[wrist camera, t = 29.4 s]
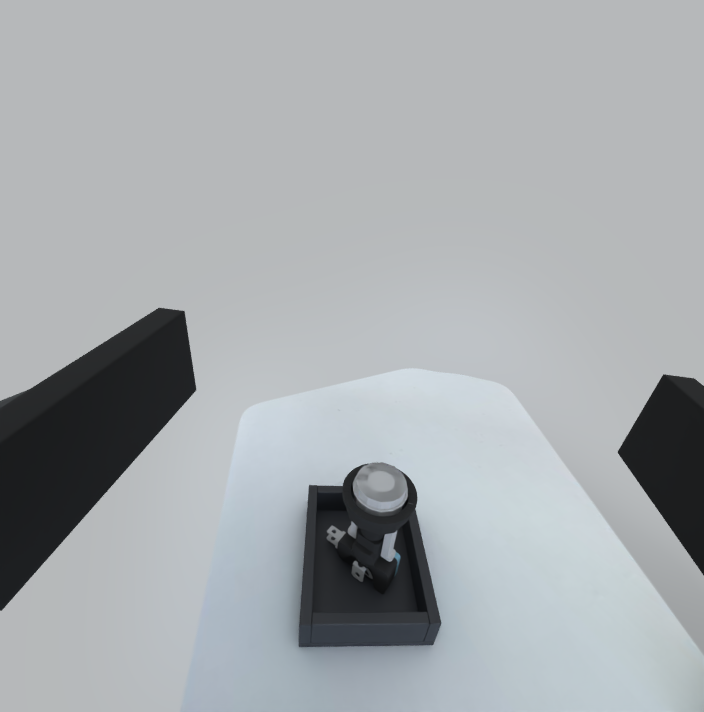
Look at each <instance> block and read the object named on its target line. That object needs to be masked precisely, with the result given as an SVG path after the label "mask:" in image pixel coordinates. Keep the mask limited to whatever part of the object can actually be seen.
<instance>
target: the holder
mask: <svg viewBox="0 0 704 712" xmlns="http://www.w3.org/2000/svg"><path fill="white" fill-rule="evenodd" d="M342 489H343V486H317V485H309V494H308V508H307V523H306V537H305V552H304V566H303V580H302V595H301V609H300V623H299V647H321V646H391V645H433V644H434V641H435V639H436V636H437V633H438V631H439V628H440V626H441V620H440V616H439V611H438V607H437V603H436V598H435V594H434V589H433V585H432V581H431V576H430V572H429V567H428V563H427V559H426V554H425V550H424V545H423V541H422V537H421V532H420V528H419V523H418V519H417V515H416V510H414V513H413V514H412V516H411V517H410V518H409V520H408V521H407V522H406V523H405V524H404V525H403V526H402V527H400V528H399V529H398V530H397V534H396V539H395V543H394V548H393V549H394V550H395V551H396V552H397V553H398V554H399V555H400V562H399V566H398V571H397V573H396V575H395V577H394V578H393V580H392V582H391V583H390V585H389V587H388V588H387V590H386V592H385V593H384V594H381V593H379V592H378V591H377V590H376V589H375V588H374V586H373V582H372V581H371V580H369V579H368V578H367V577H365V576H364V579H363V582H360V581H359V580H358V579H356V578H355V577H354V576H353V575H352V574H351V573H352V566H350V565H349V564H348V563H346V562H345V561H343V560H342V559H341V558H340V557H339V554H338V553H337V548H335V545H334V544H333V543H331V542H330V541H328V540H327V536H328V535H329V534H328V533H327V530H328V529H329V528H330V527H331V526H334V527H336V528H337V529H338V530H340V531H341V532H343V531H344V532H347V530H348V528H349V527H350V526H351V522H352V521H351V520H350V519H349V516H348V512H347V509H346V506H345V504H344V501H343V497H342ZM351 495H352V498H353V500H354V492H353V493H352V494H351ZM404 508H405V503H404V504H403V506H402V510H403V509H404ZM332 532H333V533H334V534H335V533H336V531H335V530H332ZM335 539H336V538H334V537H331V540H335ZM355 573H356V575H357V576H359V577H360V575H359V574H358V573H357V572H355Z"/></svg>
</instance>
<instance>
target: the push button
mask: <svg viewBox="0 0 704 712" xmlns="http://www.w3.org/2000/svg"><path fill="white" fill-rule="evenodd" d="M353 492H354V500H353V498H352V495H351V494H352V493H353ZM342 497H343V501H344V504H345V506H346V509H347V512H348V516H349V519H350V520H351V521H352V522H351V526H350V527H349V528H348V530H347V532H344V531H343V532H341V531H340V530H338V529H337V528H336V527H334V526H331V527H330V528H329V529H328V530H327V533H328V534H329V535H328V536H327V540H328V541H330V542H331V543H333V544H334V545H335V548H337V553H338V554H339V557H340V558H341V559H342V560H343V561H345V562H346V563H348V564H349V565H350V566H352V573H351V574H352V575H353V576H354V577H355V578H356V579H358V580H359V581H360V582H363V579H364V576H365V577H367V578H368V579H369V580H371V581H372V582H373V586H374V588H375V589H376V590H377V591H378V592H379V593H381V594H384V593H385V592H386V590H387V588H388V587H389V585H390V583H391V582H392V580H393V578H394V577H395V575H396V573H397V571H398V566H399V562H400V555H399V554H398V553H397V552H396V551H395V550H394V549H393V548H394V543H395V539H396V534H397V530H398V529H399V528H400V527H402V526H403V525H404V524H405V523H406V522H407V521H408V520H409V518H410V517H411V516H412V514H413V513H414V510H415V508H416V504H417V492H416V489H415V486H414V484H413V483H412V481H411V480H410V479H409V477H408V476H407V475H405V474H404V473H403V472H402V471H400V470H398V469H397V468H395V467H394V466H392V465H389V464H386V463H382V462H381V463H370V464H365V465H361V466H359V467H357V468H355V469H353V470H352V471H351V472H350V473H349V474H348V475H347V477H346V478H345V480H344V483H343V489H342ZM404 503H405V508H404V509H403V510H402V506H403V504H404ZM332 530H335V531H336V533H335V534H334V533H333V532H332ZM331 537H334V538H336V539H335V540H331ZM355 572H357V573H358V574H359V575H360V577H359V576H357V575H356V573H355Z"/></svg>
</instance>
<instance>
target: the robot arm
mask: <svg viewBox="0 0 704 712" xmlns="http://www.w3.org/2000/svg"><path fill="white" fill-rule="evenodd" d="M195 391H196V385H195V378H194V372H193V365H192V359H191V352H190V345H189V339H188V332H187V325H186V318H185V312H184V311H179V310H172V309H164V308H158V309H156V310H155V311H153V312H152V313H150V314H148V315H147V316H145V317H144V318H142V319H141V320H139V321H137V322H136V323H134V324H133V325H131V326H130V327H128V328H127V329H125V330H123V331H121V332H120V333H118V334H117V335H115V336H114V337H112V338H110V339H109V340H107V341H106V342H104V343H103V344H101V345H99V346H98V347H96V348H94V349H93V350H91V351H90V352H88V353H87V354H85V355H83V356H82V357H80V358H79V359H77V360H75V361H74V362H72V363H71V364H69V365H68V366H66V367H65V368H63V369H61V370H60V371H58V372H56V373H55V374H53V375H52V376H50V377H48V378H47V379H45V380H44V381H42V382H41V383H39V384H37V385H36V386H34V387H33V388H31V389H29V390H27V391H25V392H22V393H19V394H17V395H14V396H12V397H9V398H7V399H4V400H2V401H0V610H2V609H3V608H4V607H5V606H6V605H7V604H8V603H9V602H10V600H11V599H12V598H13V597H14V596H15V595H16V594H17V592H18V591H19V590H20V589H21V588H22V587H23V586H24V585H25V583H26V582H27V581H28V580H29V579H30V578H31V577H32V575H33V574H34V573H35V572H36V571H37V570H38V569H39V568H40V566H41V565H42V564H43V563H44V562H45V561H46V560H47V559H48V557H49V556H50V555H51V554H52V553H53V552H54V551H55V549H56V548H57V547H58V546H59V545H60V544H61V543H62V542H63V540H64V539H65V538H66V537H67V536H68V535H69V534H70V532H71V531H72V530H73V529H74V528H75V527H76V526H77V525H78V523H79V522H80V521H81V520H82V519H83V518H84V517H85V515H86V514H87V513H88V512H89V511H90V510H91V509H92V507H93V506H94V505H95V504H96V503H97V502H98V501H99V500H100V498H101V497H102V496H103V495H104V494H105V493H106V492H107V490H108V489H109V488H110V487H111V486H112V485H113V484H114V483H115V481H116V480H117V479H118V478H119V477H120V476H121V475H122V474H123V472H124V471H125V470H126V469H127V468H128V467H129V466H130V465H131V463H132V462H133V461H134V460H135V459H136V458H137V457H138V455H139V454H140V453H141V452H142V451H143V450H144V449H145V447H146V446H147V445H148V444H149V443H150V442H151V441H152V440H153V438H154V437H155V436H156V435H157V434H158V433H159V432H160V431H161V429H162V428H163V427H164V426H165V425H166V424H167V423H168V421H169V420H170V419H171V418H172V417H173V416H174V415H175V413H176V412H177V411H178V410H179V409H180V408H181V407H182V406H183V405H184V403H185V402H186V401H187V400H188V399H189V398H190V397H191V395H192V394H193V393H194V392H195ZM618 454H619V455H620V457H621V458H622V459H623V461H624V462H625V464H626V465H627V466H628V468H629V469H630V471H631V472H632V474H633V475H634V476H635V478H636V479H637V481H638V482H639V484H640V485H641V486H642V488H643V489H644V491H645V492H646V494H647V495H648V496H649V498H650V499H651V501H652V502H653V504H654V505H655V506H656V508H657V509H658V511H659V512H660V514H661V515H662V516H663V518H664V519H665V521H666V522H667V524H668V525H669V526H670V528H671V529H672V531H673V532H674V533H675V535H676V536H677V538H678V539H679V540H680V542H681V544H682V545H683V546H684V548H685V549H686V550H687V552H688V553H689V555H690V556H691V558H692V559H693V561H694V562H695V563H696V565H697V566H698V568H699V569H700V571H701V572H702V573H703V575H704V386H703V385H702V384H700V383H699V382H698V381H697V380H695V379H694V378H686V377H679V376H671V375H663V376H662V378H661V379H660V381H659V383H658V385H657V386H656V388H655V390H654V391H653V393H652V395H651V397H650V398H649V400H648V401H647V403H646V405H645V407H644V408H643V410H642V412H641V413H640V415H639V417H638V418H637V420H636V422H635V423H634V425H633V427H632V429H631V430H630V432H629V434H628V435H627V437H626V439H625V441H624V442H623V444H622V446H621V447H620V449H619V451H618Z"/></svg>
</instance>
